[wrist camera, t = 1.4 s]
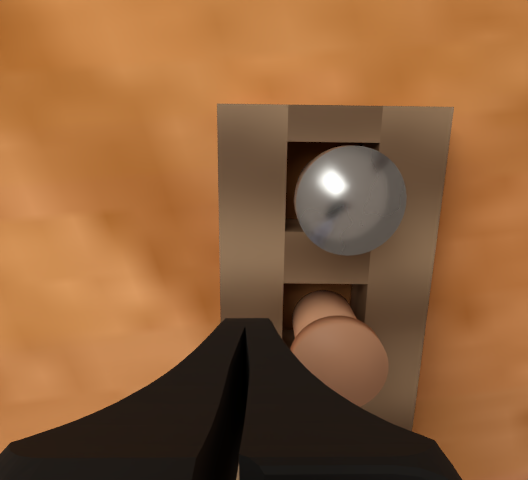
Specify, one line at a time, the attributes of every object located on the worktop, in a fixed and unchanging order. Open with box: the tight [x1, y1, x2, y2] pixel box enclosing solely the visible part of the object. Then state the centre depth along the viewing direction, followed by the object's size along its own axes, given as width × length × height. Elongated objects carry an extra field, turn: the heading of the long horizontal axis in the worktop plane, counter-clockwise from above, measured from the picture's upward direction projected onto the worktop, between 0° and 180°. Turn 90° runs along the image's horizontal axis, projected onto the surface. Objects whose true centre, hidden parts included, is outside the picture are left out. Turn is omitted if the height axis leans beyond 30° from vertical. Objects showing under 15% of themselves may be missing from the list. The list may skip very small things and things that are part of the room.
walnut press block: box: [217, 104, 454, 480], centre depth 20 cm, size 20×10×3 cm, turn 179°
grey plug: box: [294, 145, 407, 256], centre depth 15 cm, size 4×4×4 cm
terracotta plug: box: [290, 290, 389, 407], centre depth 17 cm, size 4×4×4 cm
